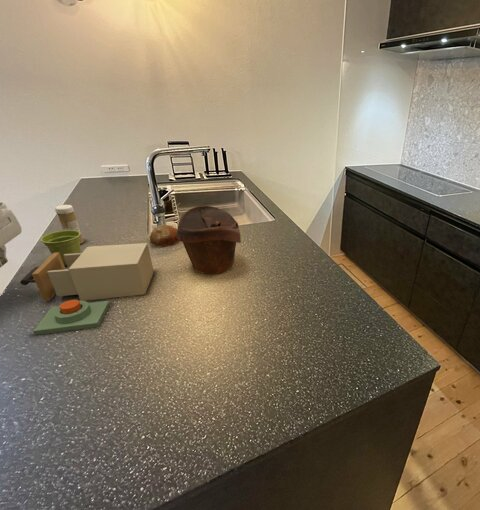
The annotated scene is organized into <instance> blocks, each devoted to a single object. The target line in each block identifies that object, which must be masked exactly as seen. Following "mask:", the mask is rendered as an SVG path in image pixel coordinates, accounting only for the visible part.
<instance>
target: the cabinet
mask: <svg viewBox="0 0 480 510" xmlns="http://www.w3.org/2000/svg"><path fill="white" fill-rule="evenodd" d="M81 253H82V254H81V255H80V256H79V257H78V258H77V260H76V261H75V262H74V263H73V264H72V265H71V267H70V268H69V272H70V274H71V277H72V280H73V282H74V285H75V287H76V290H77V293H78V294H77V295H78V298H79V301H80V300H81V301H86V302H87V301H93V300H104V299H112V298H123V297H134V296H142V295H146V293H147V290H148V288H149V285H150V283H151V280H152V277H153V275H154V271H155V270H154V266H153V262H152V257H151V253H150V249H149V245H148V243H147V242H141V243H125V244H108V245H107V244H106V245H94V246H93V245H92V246H86V248H85V249H83V251H82V252H81Z"/></svg>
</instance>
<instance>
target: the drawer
mask: <svg viewBox="0 0 480 510" xmlns="http://www.w3.org/2000/svg"><path fill="white" fill-rule="evenodd" d="M82 253H83V252H81V253H74V254H64V255H63V256H64V258H65V261H66V264H67V265H64V264H63V261H62V259H61V256H60V253H59V252H58V253H53V254H52V253H51V254H50V256H49V257H48V258H47V259H46V260H45V261H44V262H42V263H41V264H40V265H39V266H34V267H33V268H32V269H31V270H30V271H29V272H28V273H27V274H26V275H25V276H24V277H23V278H22V279H21V280H20V281H19V284H20V285H22V286H28V285H29V284H32V283H35V284H36V287H37V289H38V290H39V293H40V295H41V298H42V300H43V301H50V300H51V299H52V298H53V297H54V295H56V297H65V296H74V295H75V296H76V295H78V293H77V290H76V287H75V285H74V282H73V280H72V277H71V274H70V272H69V268H70V267H71V265H72V264H73V263H74V262H75V261H76V260H77V258H78V257H79V256H80V255H81V254H82ZM66 266H67V268H66Z"/></svg>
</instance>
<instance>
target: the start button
mask: <svg viewBox="0 0 480 510" xmlns="http://www.w3.org/2000/svg"><path fill="white" fill-rule="evenodd" d="M79 301H80V300H78V299H70V300H67V301H64V302H62V303H61V304H60V305H59V306H60V309H61V311H62V313H63V314H71V313H74V312H77V311H79V310H80V309H81V305H80V302H79Z"/></svg>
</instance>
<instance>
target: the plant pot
mask: <svg viewBox="0 0 480 510" xmlns="http://www.w3.org/2000/svg"><path fill="white" fill-rule="evenodd" d="M80 232H81V231H80ZM80 232H79V231H75V230H63V229H62V230H57V231H53V232H49V233H47V234H45V235H43V236H41V237H40V239H39V241H40V242H41V243H43V244H44V246H45V247H46V248H47V249H48V250H49V252H50V253H51V255H52V254H53V253H58V252H59V253H60V256H61V259H62V261H63V264H64V266H67V264H66V261H65V258H64V256H63V255H64V254H74V253H82V249H81V244H80V242H79V240H80V235H82V233H81V234H80Z"/></svg>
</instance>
